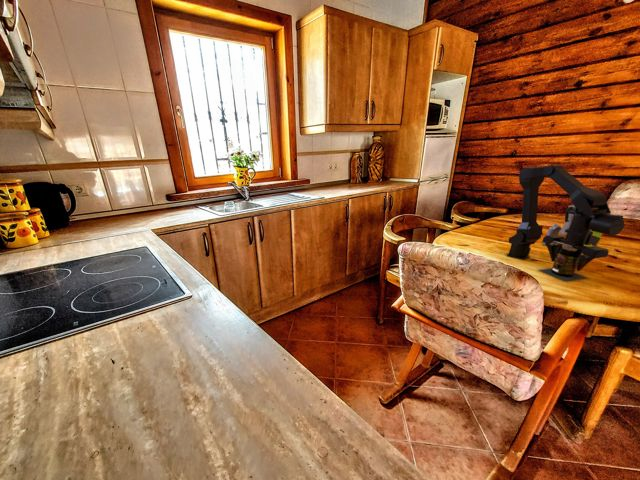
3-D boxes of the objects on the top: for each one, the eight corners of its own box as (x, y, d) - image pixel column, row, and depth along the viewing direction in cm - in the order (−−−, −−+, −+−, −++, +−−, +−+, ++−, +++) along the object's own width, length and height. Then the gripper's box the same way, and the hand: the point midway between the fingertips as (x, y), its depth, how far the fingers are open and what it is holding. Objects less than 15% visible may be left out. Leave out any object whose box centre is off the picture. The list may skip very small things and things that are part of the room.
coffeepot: (570, 230, 156) (582, 198, 149) (590, 235, 147) (603, 201, 140) (548, 233, 153) (559, 201, 146) (567, 238, 145) (580, 204, 137)
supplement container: (578, 276, 108) (588, 251, 103) (563, 278, 107) (572, 253, 103) (560, 269, 114) (569, 245, 110) (545, 271, 113) (554, 247, 109)
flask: (548, 246, 136) (555, 225, 132) (540, 245, 139) (547, 224, 134) (556, 242, 141) (563, 222, 136) (548, 241, 143) (555, 221, 139)
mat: (586, 277, 106) (587, 277, 106) (564, 281, 105) (564, 280, 105) (559, 267, 115) (559, 267, 115) (538, 270, 114) (538, 270, 114)
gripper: (630, 232, 95) (611, 273, 101) (571, 219, 112) (558, 255, 118) (603, 236, 94) (585, 277, 100) (547, 222, 111) (535, 258, 117)
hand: (565, 265), depth 109 cm, fingers open, 9 cm apart
